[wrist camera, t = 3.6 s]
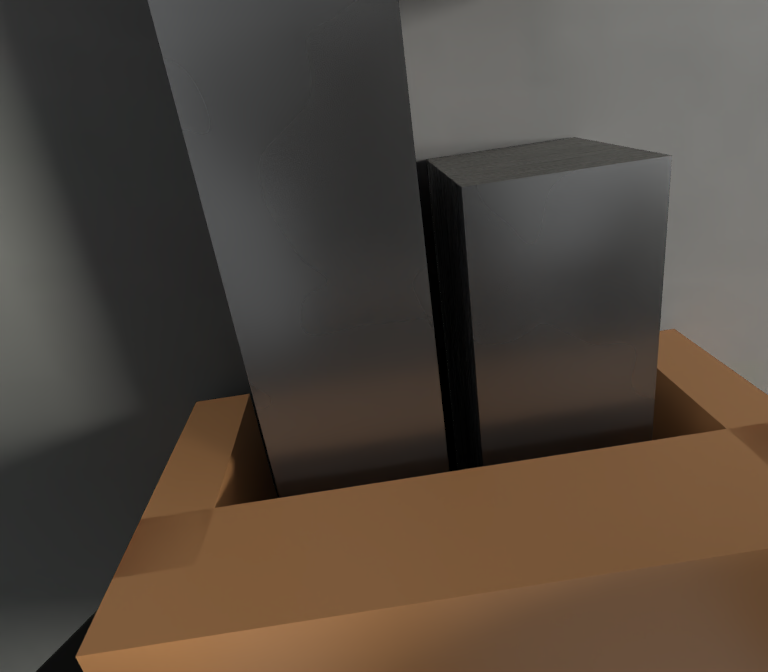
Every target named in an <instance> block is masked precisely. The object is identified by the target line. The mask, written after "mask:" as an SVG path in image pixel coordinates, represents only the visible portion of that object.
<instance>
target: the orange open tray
mask: <svg viewBox="0 0 768 672" xmlns="http://www.w3.org/2000/svg"><path fill="white" fill-rule="evenodd" d="M76 659H77V661H78V663H79V665H80V666H81V668H82V670H83V672H768V395H767V394H765V393H764V392H762V391H761V390H760V389H758V388H757V387H755V386H754V385H753V384H751V383H750V382H748V381H747V380H746V379H744V378H743V377H741V376H740V375H738V374H737V373H736V372H734V371H733V370H731V369H730V368H729V367H727V366H726V365H724V364H723V363H722V362H720V361H719V360H717V359H716V358H714V357H713V356H712V355H710V354H709V353H707V352H706V351H705V350H703V349H702V348H700V347H699V346H698V345H696V344H695V343H693V342H692V341H691V340H689V339H688V338H686V337H685V336H683V335H682V334H681V333H679V332H678V331H676V330H675V329H670V330H664V331H660V332H659V347H658V361H657V375H656V389H655V403H654V418H653V432H652V441H645V442H639V443H632V444H626V445H619V446H613V447H606V448H600V449H593V450H587V451H580V452H574V453H567V454H561V455H554V456H548V457H542V458H535V459H529V460H522V461H516V462H509V463H503V464H496V465H490V466H483V467H477V468H470V469H464V470H457V471H451V472H444V473H438V474H431V475H425V476H418V477H412V478H405V479H399V480H393V481H386V482H380V483H373V484H367V485H360V486H354V487H347V488H341V489H334V490H328V491H321V492H315V493H308V494H302V495H295V496H289V497H282V498H277V494H276V490H275V486H274V483H273V479H272V475H271V471H270V468H269V464H268V460H267V456H266V453H265V449H264V445H263V441H262V438H261V434H260V430H259V427H258V423H257V419H256V415H255V412H254V408H253V404H252V400H251V397H250V394H245V395H238V396H231V397H225V398H218V399H212V400H205V401H199V402H196V404H195V406H194V408H193V410H192V412H191V414H190V416H189V418H188V420H187V423H186V425H185V427H184V429H183V431H182V433H181V435H180V437H179V439H178V441H177V444H176V446H175V448H174V450H173V452H172V454H171V456H170V458H169V460H168V463H167V465H166V467H165V469H164V471H163V473H162V475H161V477H160V479H159V482H158V484H157V486H156V488H155V490H154V492H153V494H152V496H151V498H150V501H149V503H148V505H147V507H146V509H145V511H144V513H143V515H142V517H141V520H140V522H139V524H138V526H137V528H136V530H135V532H134V534H133V536H132V539H131V541H130V543H129V545H128V547H127V549H126V551H125V553H124V555H123V557H122V560H121V562H120V564H119V566H118V568H117V570H116V572H115V574H114V576H113V579H112V581H111V583H110V585H109V587H108V589H107V591H106V593H105V595H104V598H103V600H102V602H101V604H100V606H99V608H98V610H97V612H96V614H95V617H94V619H93V621H92V623H91V625H90V627H89V629H88V631H87V633H86V636H85V638H84V640H83V642H82V644H81V646H80V648H79V650H78V652H77V655H76Z"/></svg>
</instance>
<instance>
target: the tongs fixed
mask: <svg viewBox="0 0 768 672" xmlns="http://www.w3.org/2000/svg"><path fill="white" fill-rule="evenodd" d="M426 161H427V171H428V181H429V191H430V201H431V211H432V221H433V231H434V241H435V251H436V261H437V271H438V281H439V291H440V301H441V311H442V320H443V330H444V340H445V350H446V360H447V370H448V380H449V390H450V400H451V410H452V420H453V430H454V440H455V450H456V460H457V469H458V470H464V469H470V468H477V467H483V466H490V465H496V464H503V463H509V462H516V461H522V460H529V459H535V458H542V457H548V456H554V455H561V454H567V453H574V452H580V451H587V450H593V449H600V448H606V447H613V446H619V445H626V444H632V443H639V442H645V441H652V432H653V418H654V403H655V389H656V375H657V361H658V347H659V332H660V318H661V304H662V290H663V276H664V261H665V247H666V233H667V219H668V205H669V190H670V176H671V162H672V155H666V154H661V153H656V152H650V151H645V150H640V149H634V148H629V147H624V146H618V145H613V144H608V143H602V142H597V141H592V140H586V139H581V138H576V137H573V138H567V139H560V140H553V141H547V142H540V143H533V144H526V145H520V146H513V147H506V148H500V149H493V150H486V151H480V152H473V153H466V154H460V155H453V156H446V157H440V158H433V159H426Z"/></svg>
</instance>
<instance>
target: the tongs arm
mask: <svg viewBox="0 0 768 672" xmlns="http://www.w3.org/2000/svg"><path fill="white" fill-rule="evenodd" d="M148 4H149V8H150V12H151V15H152V19H153V23H154V27H155V30H156V34H157V38H158V42H159V45H160V49H161V53H162V57H163V60H164V64H165V68H166V72H167V76H168V79H169V83H170V87H171V91H172V94H173V98H174V102H175V106H176V109H177V113H178V117H179V121H180V125H181V128H182V132H183V136H184V140H185V143H186V147H187V151H188V155H189V158H190V162H191V166H192V170H193V173H194V177H195V181H196V185H197V189H198V192H199V196H200V200H201V204H202V207H203V211H204V215H205V219H206V222H207V226H208V230H209V234H210V237H211V241H212V245H213V249H214V253H215V256H216V260H217V264H218V268H219V271H220V275H221V279H222V283H223V286H224V290H225V294H226V298H227V302H228V305H229V309H230V313H231V317H232V320H233V324H234V328H235V332H236V335H237V339H238V343H239V347H240V350H241V354H242V358H243V362H244V366H245V369H246V373H247V377H248V381H249V384H250V388H251V392H252V396H253V399H254V403H255V407H256V411H257V414H258V418H259V422H260V426H261V430H262V433H263V437H264V441H265V445H266V448H267V452H268V456H269V460H270V463H271V467H272V471H273V475H274V479H275V482H276V486H277V490H278V494H279V497H280V498H282V497H289V496H295V495H302V494H308V493H315V492H321V491H328V490H334V489H341V488H347V487H354V486H360V485H367V484H373V483H380V482H386V481H393V480H399V479H405V478H412V477H418V476H425V475H431V474H438V473H444V472H449V464H448V454H447V445H446V436H445V427H444V417H443V408H442V399H441V390H440V380H439V371H438V362H437V353H436V343H435V334H434V325H433V316H432V306H431V297H430V288H429V279H428V269H427V260H426V251H425V242H424V232H423V223H422V214H421V205H420V195H419V186H418V177H417V168H416V158H415V149H414V140H413V131H412V121H411V112H410V103H409V94H408V84H407V75H406V66H405V57H404V47H403V38H402V29H401V20H400V10H399V1H398V0H148Z"/></svg>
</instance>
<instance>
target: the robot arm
mask: <svg viewBox="0 0 768 672" xmlns="http://www.w3.org/2000/svg"><path fill="white" fill-rule="evenodd" d="M96 612H97V611H96ZM96 612H95V613H94V614H93V615H92V616H91V617H90V618H89V619H88V620H87V621H86V622H85V623H84V624H83V625H82V626H81V627H80V628H79V629H78V630H77V631H76V632H75V633H74V634H73V635H72V636H71V637H70V638H69V639H68V640H67V641H66V642H65V643H64V644H63V645H62V646H61V647H60V648H59V649H58V650H57V651H56V652H55V653H54V654H53V655H52V656H51V657H50V658H49V659H48V660H47V661H46V662H45V663H44V664H43V665H42V666H41V667H40V668H39V669H38V670H37V671H36V672H83V670H82V668H81V666H80V665H79V663H78V661H77V659H76V655H77V652H78V650H79V648H80V646H81V644H82V642H83V640H84V638H85V636H86V633H87V631H88V629H89V627H90V625H91V623H92V621H93V619H94V617H95V614H96Z"/></svg>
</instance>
